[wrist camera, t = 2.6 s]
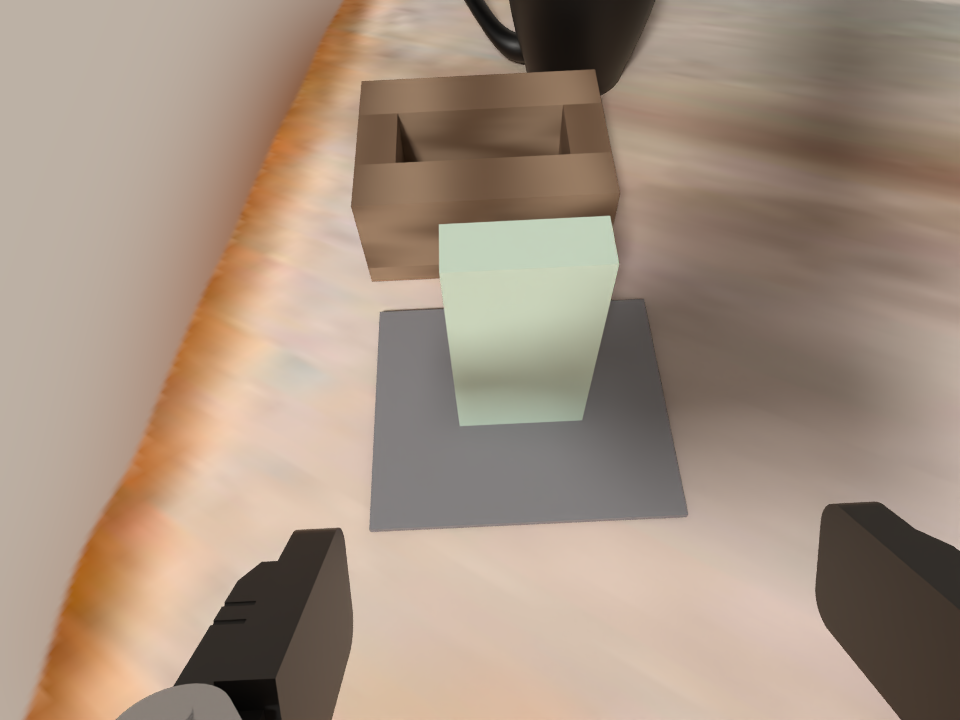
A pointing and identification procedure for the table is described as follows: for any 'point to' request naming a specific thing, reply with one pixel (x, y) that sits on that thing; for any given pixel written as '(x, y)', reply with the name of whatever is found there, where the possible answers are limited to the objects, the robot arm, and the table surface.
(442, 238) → the tall mint green block
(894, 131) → the table surface
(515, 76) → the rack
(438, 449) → the mat
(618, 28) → the mug
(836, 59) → the table surface
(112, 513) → the table surface
